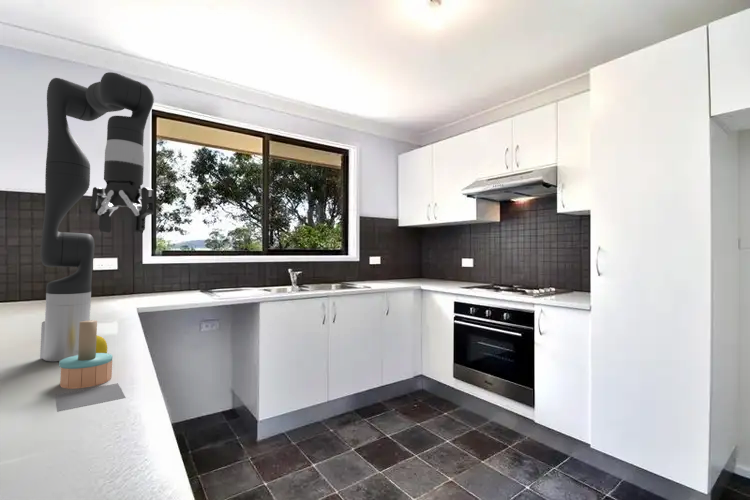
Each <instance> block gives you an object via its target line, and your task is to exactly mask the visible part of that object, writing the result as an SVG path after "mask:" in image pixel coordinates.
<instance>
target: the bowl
mask: <svg viewBox="0 0 750 500" xmlns="http://www.w3.org/2000/svg"><path fill="white" fill-rule="evenodd" d="M112 371H113V360H112V361H110V362H108V363H106V364H103V365H99V366H94V367H88V368H78V369H65V368H61V367H60V377H59V386H60V387H61V388H62V389H68V390H69V389H72V390H73V389H74V390H75V389H76V390H77V389H84V388H85V389H86V388H92V387H97V386H99V385H102V384H105V383H107V382H109V381H110V380H111V379H112V376H113V372H112Z"/></svg>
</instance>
